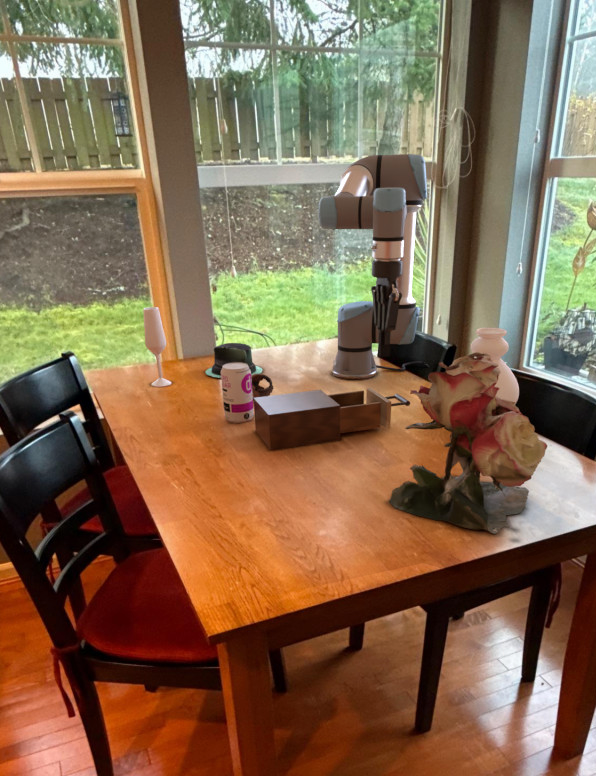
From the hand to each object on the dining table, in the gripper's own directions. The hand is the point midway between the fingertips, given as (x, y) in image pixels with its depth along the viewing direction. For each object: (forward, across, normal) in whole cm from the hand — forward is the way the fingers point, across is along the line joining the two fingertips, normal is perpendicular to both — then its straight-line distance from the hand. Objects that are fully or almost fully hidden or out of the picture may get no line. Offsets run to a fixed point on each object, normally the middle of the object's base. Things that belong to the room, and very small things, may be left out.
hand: (383, 356), depth 165 cm
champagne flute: (+18, -62, -52) cm, 83 cm away
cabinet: (+18, +1, -25) cm, 31 cm away
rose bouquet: (+18, +51, -4) cm, 54 cm away
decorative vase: (+18, +13, +24) cm, 32 cm away
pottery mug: (+18, -35, -27) cm, 48 cm away
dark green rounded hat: (+19, -67, -26) cm, 74 cm away
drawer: (+17, +2, -6) cm, 18 cm away
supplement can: (+18, -18, -36) cm, 44 cm away
